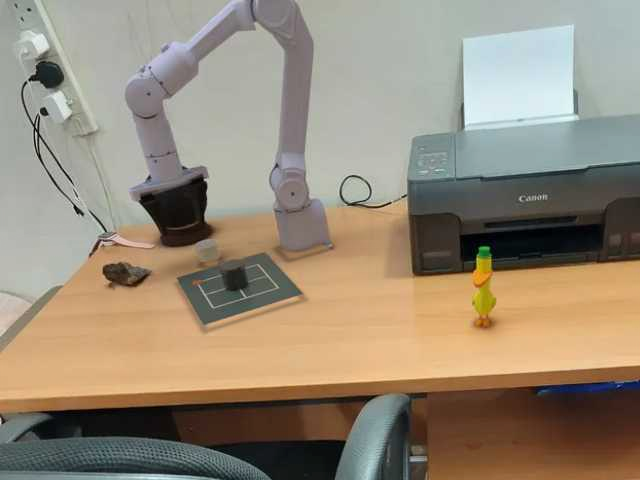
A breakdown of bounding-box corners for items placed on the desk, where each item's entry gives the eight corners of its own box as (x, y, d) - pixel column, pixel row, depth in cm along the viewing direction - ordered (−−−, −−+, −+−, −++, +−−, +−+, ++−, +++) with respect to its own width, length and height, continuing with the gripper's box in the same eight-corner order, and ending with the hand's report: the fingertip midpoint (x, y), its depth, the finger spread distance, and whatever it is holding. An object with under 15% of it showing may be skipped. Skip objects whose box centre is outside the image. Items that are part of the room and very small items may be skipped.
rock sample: (164, 252, 129) (122, 236, 122) (162, 289, 127) (119, 275, 121) (137, 268, 136) (96, 254, 129) (135, 303, 134) (93, 290, 128)
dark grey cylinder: (244, 277, 122) (239, 256, 120) (251, 286, 119) (246, 265, 116) (221, 284, 121) (216, 263, 119) (228, 293, 118) (222, 272, 115)
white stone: (219, 256, 134) (213, 237, 132) (224, 263, 131) (219, 244, 129) (198, 262, 133) (192, 243, 131) (203, 269, 130) (197, 250, 128)
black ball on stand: (192, 250, 138) (171, 177, 129) (144, 246, 143) (120, 175, 134) (227, 225, 147) (210, 155, 138) (181, 222, 152) (161, 154, 143)
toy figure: (488, 336, 99) (489, 261, 91) (465, 334, 100) (463, 260, 92) (499, 314, 103) (500, 241, 96) (476, 312, 105) (476, 239, 97)
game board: (266, 257, 131) (264, 251, 130) (305, 300, 115) (303, 293, 114) (177, 283, 127) (175, 277, 126) (205, 331, 110) (203, 325, 110)
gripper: (188, 137, 121) (208, 210, 130) (113, 159, 115) (139, 234, 124) (205, 143, 117) (224, 218, 125) (127, 167, 111) (153, 244, 119)
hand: (182, 227), depth 124 cm, fingers open, 7 cm apart
